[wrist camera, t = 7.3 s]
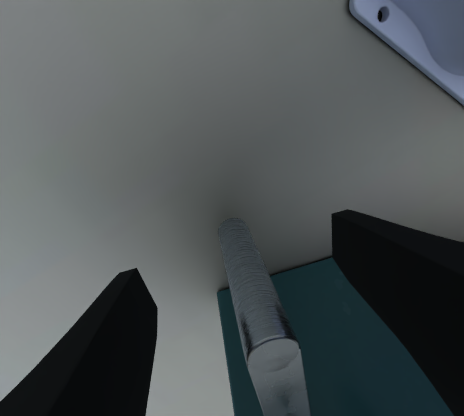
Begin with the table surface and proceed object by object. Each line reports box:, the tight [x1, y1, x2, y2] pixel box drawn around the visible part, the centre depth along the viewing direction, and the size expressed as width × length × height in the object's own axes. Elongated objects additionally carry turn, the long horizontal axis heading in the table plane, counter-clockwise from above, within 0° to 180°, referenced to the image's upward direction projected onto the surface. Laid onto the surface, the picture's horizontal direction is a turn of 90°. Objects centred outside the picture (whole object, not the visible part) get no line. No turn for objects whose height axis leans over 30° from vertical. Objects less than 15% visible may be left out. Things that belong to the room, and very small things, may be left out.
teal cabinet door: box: [217, 218, 454, 416], centre depth 10 cm, size 7×13×10 cm, turn 103°
